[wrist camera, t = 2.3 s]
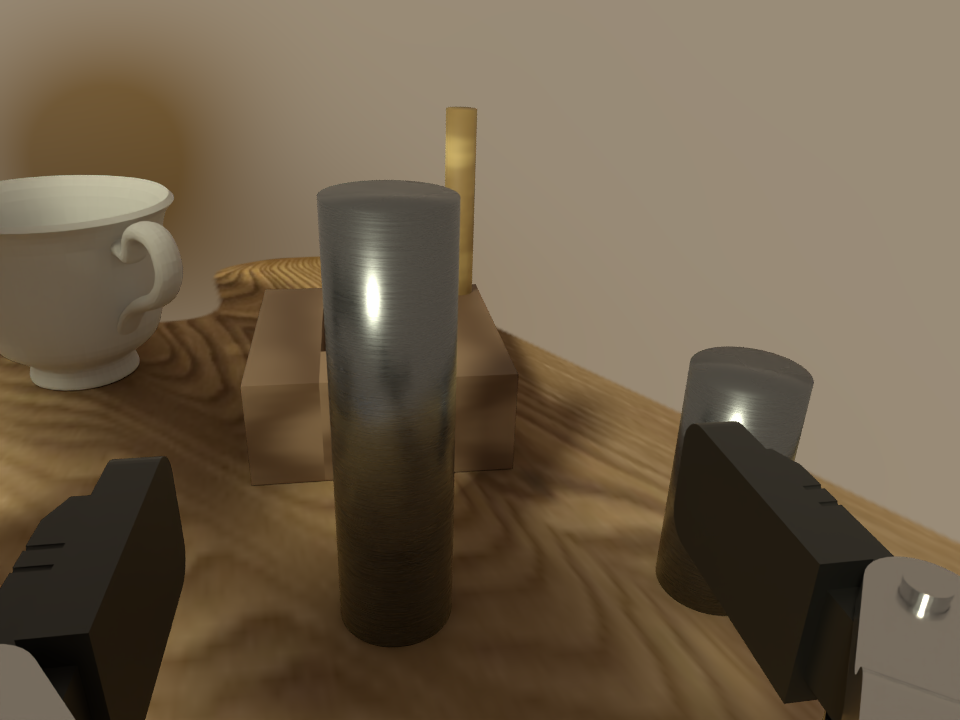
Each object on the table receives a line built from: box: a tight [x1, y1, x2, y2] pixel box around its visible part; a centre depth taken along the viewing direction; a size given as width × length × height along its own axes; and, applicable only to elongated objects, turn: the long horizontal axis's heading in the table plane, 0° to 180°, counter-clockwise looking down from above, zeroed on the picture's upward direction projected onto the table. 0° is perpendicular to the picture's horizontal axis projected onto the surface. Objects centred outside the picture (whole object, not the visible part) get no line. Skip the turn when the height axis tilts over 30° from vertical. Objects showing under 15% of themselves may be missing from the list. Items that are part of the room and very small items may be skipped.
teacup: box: [0, 175, 183, 391], centre depth 41 cm, size 12×15×10 cm
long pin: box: [317, 180, 461, 647], centre depth 24 cm, size 4×4×15 cm
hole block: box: [240, 107, 518, 485], centre depth 37 cm, size 12×12×15 cm
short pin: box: [656, 347, 814, 616], centre depth 28 cm, size 4×4×9 cm
